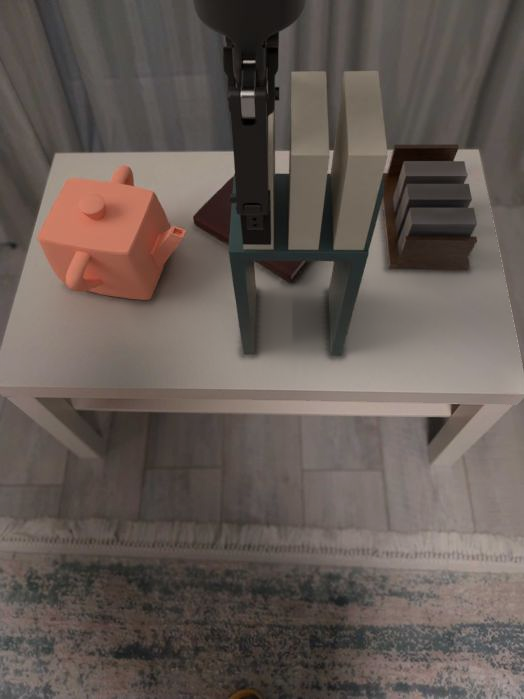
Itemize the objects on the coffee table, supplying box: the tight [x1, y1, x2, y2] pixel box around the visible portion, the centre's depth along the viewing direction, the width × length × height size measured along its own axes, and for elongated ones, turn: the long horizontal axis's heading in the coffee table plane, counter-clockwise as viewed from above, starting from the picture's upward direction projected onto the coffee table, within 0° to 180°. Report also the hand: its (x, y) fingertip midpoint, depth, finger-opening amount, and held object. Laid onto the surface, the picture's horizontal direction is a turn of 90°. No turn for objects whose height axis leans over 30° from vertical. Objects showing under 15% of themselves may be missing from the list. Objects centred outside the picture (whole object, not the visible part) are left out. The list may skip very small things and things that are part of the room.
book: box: [192, 175, 310, 283], centre depth 79 cm, size 12×19×3 cm, turn 53°
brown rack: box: [381, 143, 478, 270], centre depth 77 cm, size 19×12×9 cm, turn 178°
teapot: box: [36, 165, 187, 301], centre depth 72 cm, size 20×22×14 cm
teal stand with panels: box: [227, 70, 389, 356], centre depth 57 cm, size 14×11×36 cm
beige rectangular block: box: [243, 81, 276, 250], centre depth 46 cm, size 3×10×12 cm, turn 178°
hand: (258, 199), depth 50 cm, fingers closed on beige rectangular block, 10 cm apart
